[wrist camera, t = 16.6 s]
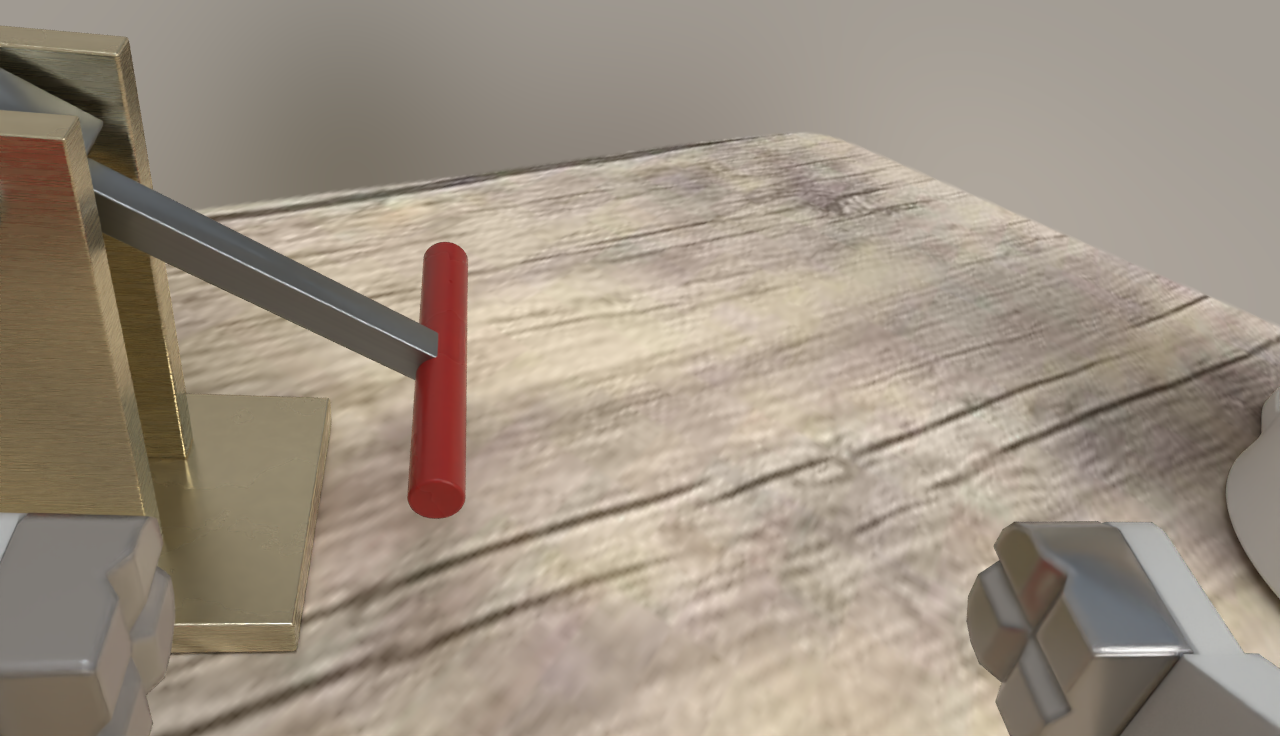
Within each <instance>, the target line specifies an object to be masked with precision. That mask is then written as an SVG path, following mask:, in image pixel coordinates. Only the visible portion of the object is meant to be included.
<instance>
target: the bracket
mask: <svg viewBox="0 0 1280 736" xmlns="http://www.w3.org/2000/svg"><path fill="white" fill-rule="evenodd" d="M0 67H1V68H2V69H4V70H6V71H8V72H10V73H12V74H14V75H16V76H18V77H20V78H22V79H24V80H25V81H27V82H29V83H31V84H33V85H35V86H37V87H39V88H41V89H43V90H45V91H47V92H48V93H50V94H52V95H54V96H56V97H58V98H60V99H62V100H64V101H66V102H68V103H70V104H71V105H73V106H75V107H77V108H79V109H81V110H83V111H85V112H87V113H89V114H91V115H93V116H95V117H96V118H98V119H100V120H102V121H103V127H102V129H101V131H100V132H99V134H98V136H97V138H96V140H95V142H94V144H93V146H92V148H91V150H90V152H89V153H88V155H86V150H85V145H84V141H83V136H82V131H81V126H80V121H79V117H78V116H72V115H59V114H46V113H33V112H20V111H7V110H0V512H2V513H59V514H91V515H123V516H150V517H154V518H157V521H158V524H159V528H160V532H161V535H162V539H163V547H162V550H161V554H160V557H159V561H158V564H157V566H158V567H160V568H161V569H162V570H164V571H165V572H166V573H168V574H169V575H170V576H171V580H172V585H173V590H174V599H175V625H174V634H173V643H172V650H171V653H195V652H282V651H295V650H296V648H297V644H298V637H299V631H300V624H301V618H302V611H303V605H304V598H305V592H306V585H307V579H308V572H309V566H310V559H311V553H312V546H313V540H314V534H315V527H316V521H317V514H318V508H319V501H320V495H321V488H322V482H323V475H324V469H325V462H326V456H327V449H328V443H329V436H330V430H331V405H330V399H329V398H312V397H280V396H248V395H216V394H186V390H185V384H184V378H183V372H182V365H181V359H180V353H179V347H178V341H177V335H176V328H175V322H174V316H173V310H172V304H171V297H170V291H169V285H168V279H167V273H166V267H165V262H164V261H162V260H159V259H157V258H155V257H153V256H151V255H149V254H147V253H145V252H142V251H140V250H138V249H136V248H134V247H132V246H130V245H128V244H125V243H123V242H121V241H119V240H117V239H115V238H113V237H111V236H109V235H106V234H104V233H102V230H101V225H100V220H99V215H98V210H97V205H96V200H95V195H94V190H93V185H92V180H91V175H90V170H89V165H88V160H87V158H91V159H93V160H95V161H97V162H99V163H101V164H103V165H105V166H107V167H109V168H111V169H113V170H115V171H117V172H118V173H120V174H122V175H124V176H126V177H128V178H130V179H132V180H134V181H136V182H138V183H140V184H142V185H144V186H146V187H148V188H150V189H152V190H153V186H152V180H151V174H150V168H149V161H148V155H147V149H146V143H145V137H144V131H143V124H142V118H141V113H140V106H139V100H138V94H137V87H136V81H135V75H134V69H133V62H132V56H131V50H130V44H129V40H128V38H127V37H121V36H111V35H100V34H89V33H77V32H66V31H55V30H44V29H33V28H22V27H11V26H0Z"/></svg>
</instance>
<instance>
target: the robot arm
mask: <svg viewBox="0 0 1280 736" xmlns="http://www.w3.org/2000/svg"><path fill="white" fill-rule="evenodd" d="M1261 426H1262V433H1261V435H1260V437H1259V438H1258V439H1257V440H1256V441H1255V442H1253V443H1252V444H1251V445H1250V446H1249V447H1248V448H1247V449H1246V450H1245V451H1244V452H1243V453H1241V454H1240V456H1239V457H1238V458H1237V459H1236V460H1235V462H1234V463H1233V465H1232V467H1231V469H1230V471H1229V475H1228V478H1227V484H1226V500H1227V507H1228V512H1229V516H1230V519H1231V522H1232V525H1233V528H1234V530H1235V532H1236V535H1237V537H1238V539H1239V541H1240V543H1241V545H1242V547H1243V549H1244V551H1245V552H1246V554H1247V556H1248V557H1249V559H1250V561H1251V562H1252V564H1253V565H1254V567H1255V568H1256V569H1257V571H1258V572H1259V574H1260V575H1261V576H1262V578H1263V579H1264V580H1265V582H1266V583H1267V584H1268V586H1269V587H1270V588H1271V589H1272V590H1273V592H1274V593H1275V594H1276V595H1277V596H1278V598H1279V599H1280V386H1279V387H1278V388H1277V389H1276V390H1275V392H1274V393H1273V394H1272V395H1271V396H1270V397H1269V398H1268V399H1267V400H1266V402H1265V403H1264V405H1263V408H1262V415H1261ZM162 547H163V539H162V535H161V532H160V528H159V524H158V521H157V518H154V517H150V516H123V515H91V514H59V513H2V512H0V736H150V733H151V729H152V725H153V721H152V717H151V713H150V709H149V705H148V701H147V697H146V695H147V694H148V693H149V692H150V691H151V690H152V689H153V688H155V687H156V686H157V685H158V684H159V683H160V682H161V681H162V680H163V679H164V678H165V675H166V671H167V667H168V663H169V659H170V655H171V650H172V643H173V634H174V625H175V599H174V590H173V585H172V580H171V576H170V575H169V574H168V573H166V572H165V571H164V570H162V569H161V568H160V567H158V566H157V564H158V561H159V557H160V554H161V550H162ZM994 549H995V551H996V553H997V555H998V557H999V561H998V562H996V563H995V564H993V565H992V566H990V567H989V568H987V569H986V570H984V571H983V572H981V573H980V574H978V576H977V578H976V580H975V582H974V585H973V587H972V589H971V591H970V593H969V595H968V606H967V626H968V631H969V636H970V641H971V644H972V647H973V649H974V652H975V654H976V657H977V659H978V662H979V664H980V665H982V666H983V667H984V668H985V669H986V670H988V671H989V672H990V673H991V674H992V675H993V676H995V677H996V678H997V679H998V680H999V681H1000V682H1001V685H1000V688H999V692H998V695H997V698H996V704H997V707H998V709H999V711H1000V714H1001V716H1002V718H1003V721H1004V723H1005V725H1006V728H1007V730H1008V732H1009V735H1010V736H1280V669H1279V668H1278V667H1276V666H1275V665H1274V664H1272V663H1271V662H1269V661H1268V660H1267V659H1265V658H1264V657H1262V656H1261V655H1260V654H1253V653H1244V652H1243V650H1242V649H1241V647H1240V646H1239V644H1238V642H1237V641H1236V639H1235V638H1234V636H1233V635H1232V633H1231V632H1230V630H1229V629H1228V627H1227V626H1226V624H1225V623H1224V621H1223V620H1222V618H1221V617H1220V615H1219V614H1218V612H1217V610H1216V609H1215V607H1214V606H1213V604H1212V603H1211V601H1210V600H1209V598H1208V597H1207V595H1206V594H1205V592H1204V591H1203V589H1202V588H1201V586H1200V585H1199V583H1198V581H1197V580H1196V578H1195V577H1194V575H1193V574H1192V572H1191V571H1190V569H1189V568H1188V566H1187V565H1186V563H1185V562H1184V560H1183V559H1182V557H1181V556H1180V554H1179V552H1178V551H1177V549H1176V548H1175V546H1174V545H1173V543H1172V542H1171V540H1170V539H1169V537H1168V536H1167V534H1166V533H1165V532H1164V531H1163V530H1162V529H1161V528H1159V527H1158V526H1156V525H1155V524H1154V523H1152V522H1104V523H1101V522H1098V521H1064V522H1013V523H1012V524H1010V525H1009V526H1007V527H1006V528H1004V529H1003V530H1002V532H1001V533H1000V535H999V537H998V539H997V541H996V542H995V544H994Z"/></svg>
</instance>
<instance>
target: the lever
mask: <svg viewBox="0 0 1280 736" xmlns="http://www.w3.org/2000/svg"><path fill="white" fill-rule="evenodd" d="M0 110H7V111H20V112H33V113H46V114H59V115H72V116H78V117H79V121H80V126H81V131H82V136H83V141H84V145H85V150H86V155H88V153H89V152H90V150H91V148H92V146H93V144H94V142H95V140H96V138H97V136H98V134H99V132H100V131H101V129H102V127H103V121H102V120H100V119H98V118H96V117H95V116H93V115H91V114H89V113H87V112H85V111H83V110H81V109H79V108H77V107H75V106H73V105H71V104H70V103H68V102H66V101H64V100H62V99H60V98H58V97H56V96H54V95H52V94H50V93H48V92H47V91H45V90H43V89H41V88H39V87H37V86H35V85H33V84H31V83H29V82H27V81H25V80H24V79H22V78H20V77H18V76H16V75H14V74H12V73H10V72H8V71H6V70H4V69H2V68H1V67H0ZM87 160H88V165H89V170H90V175H91V180H92V185H93V190H94V195H95V200H96V205H97V210H98V215H99V220H100V225H101V230H102V233H104V234H106V235H109V236H111V237H113V238H115V239H117V240H119V241H121V242H123V243H125V244H128V245H130V246H132V247H134V248H136V249H138V250H140V251H142V252H145V253H147V254H149V255H151V256H153V257H155V258H157V259H159V260H162V261H164V262H166V263H168V264H170V265H172V266H174V267H176V268H178V269H181V270H183V271H185V272H187V273H189V274H191V275H193V276H195V277H198V278H200V279H202V280H204V281H206V282H208V283H210V284H212V285H214V286H217V287H219V288H221V289H223V290H225V291H227V292H229V293H231V294H234V295H236V296H238V297H240V298H242V299H244V300H246V301H248V302H251V303H253V304H255V305H257V306H259V307H261V308H263V309H265V310H267V311H270V312H272V313H274V314H276V315H278V316H280V317H282V318H284V319H287V320H289V321H291V322H293V323H295V324H297V325H299V326H301V327H304V328H306V329H308V330H310V331H312V332H314V333H316V334H318V335H320V336H323V337H325V338H327V339H329V340H331V341H333V342H335V343H337V344H340V345H342V346H344V347H346V348H348V349H350V350H352V351H354V352H357V353H359V354H361V355H363V356H365V357H367V358H369V359H371V360H373V361H376V362H378V363H380V364H382V365H384V366H386V367H388V368H390V369H393V370H395V371H397V372H399V373H401V374H403V375H405V376H407V377H410V378H412V379H414V380H415V393H414V408H413V422H412V437H411V452H410V467H409V481H408V496H407V499H408V503H409V505H410V507H411V508H412V510H413V511H414V512H416V513H417V514H419V515H421V516H423V517H427V518H432V519H440V518H446V517H449V516H452V515H454V514H455V513H457V512H458V511H459V510H460V509H461V508H462V506H463V504H464V502H465V485H466V389H467V293H468V258H467V255H466V253H465V252H464V250H463V249H462V248H461V247H459V246H458V245H456V244H454V243H450V242H440V243H437V244H434V245H432V246H431V247H430V248H429V249H428V250H427V251H426V253H425V255H424V260H423V275H422V289H421V304H420V319H419V323H417V322H415V321H413V320H411V319H409V318H407V317H405V316H403V315H401V314H399V313H397V312H395V311H393V310H391V309H389V308H387V307H385V306H383V305H382V304H380V303H378V302H376V301H374V300H372V299H370V298H368V297H366V296H364V295H362V294H360V293H358V292H356V291H354V290H352V289H350V288H348V287H346V286H344V285H342V284H340V283H338V282H336V281H334V280H332V279H330V278H328V277H326V276H324V275H322V274H320V273H318V272H316V271H314V270H312V269H310V268H308V267H306V266H304V265H302V264H300V263H298V262H296V261H294V260H292V259H290V258H288V257H286V256H284V255H282V254H280V253H278V252H276V251H274V250H272V249H270V248H268V247H266V246H264V245H262V244H260V243H258V242H256V241H254V240H252V239H250V238H248V237H246V236H244V235H242V234H240V233H238V232H236V231H234V230H232V229H230V228H228V227H226V226H224V225H222V224H220V223H218V222H216V221H214V220H212V219H210V218H208V217H206V216H204V215H202V214H200V213H198V212H196V211H194V210H192V209H190V208H188V207H186V206H184V205H182V204H180V203H178V202H176V201H174V200H172V199H170V198H168V197H166V196H164V195H162V194H160V193H158V192H156V191H154V190H152V189H150V188H148V187H146V186H144V185H142V184H140V183H138V182H136V181H134V180H132V179H130V178H128V177H126V176H124V175H122V174H120V173H118V172H117V171H115V170H113V169H111V168H109V167H107V166H105V165H103V164H101V163H99V162H97V161H95V160H93V159H91V158H87Z"/></svg>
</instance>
